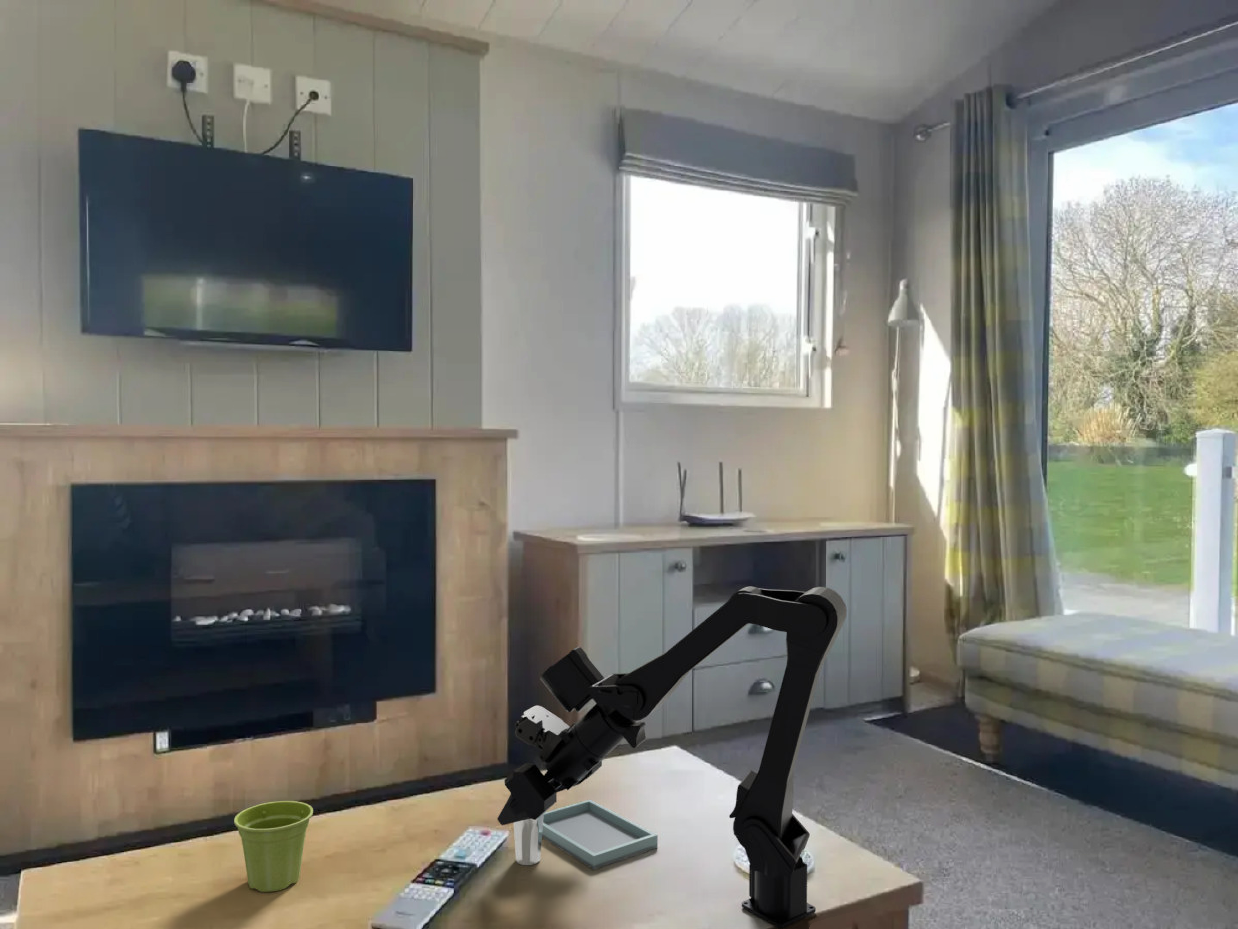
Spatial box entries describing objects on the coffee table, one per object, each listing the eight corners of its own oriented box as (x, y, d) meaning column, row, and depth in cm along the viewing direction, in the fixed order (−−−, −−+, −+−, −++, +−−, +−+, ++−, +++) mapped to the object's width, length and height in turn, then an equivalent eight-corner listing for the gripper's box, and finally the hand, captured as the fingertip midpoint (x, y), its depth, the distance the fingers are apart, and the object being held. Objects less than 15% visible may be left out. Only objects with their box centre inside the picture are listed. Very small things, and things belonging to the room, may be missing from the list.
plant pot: (235, 871, 120) (235, 805, 120) (311, 860, 123) (311, 796, 123) (232, 905, 111) (232, 834, 111) (314, 892, 115) (314, 823, 114)
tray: (657, 847, 128) (657, 835, 128) (593, 869, 121) (593, 856, 121) (589, 811, 140) (589, 799, 140) (528, 829, 134) (528, 817, 134)
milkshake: (523, 848, 127) (524, 776, 127) (551, 859, 124) (552, 786, 124) (499, 859, 124) (500, 785, 124) (528, 871, 121) (528, 795, 120)
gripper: (582, 674, 131) (513, 741, 135) (518, 709, 113) (442, 784, 118) (633, 736, 128) (561, 803, 132) (576, 781, 111) (495, 856, 115)
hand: (517, 809), depth 124 cm, fingers open, 9 cm apart
